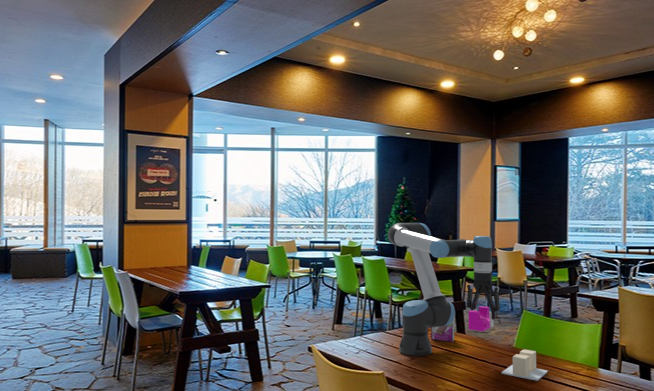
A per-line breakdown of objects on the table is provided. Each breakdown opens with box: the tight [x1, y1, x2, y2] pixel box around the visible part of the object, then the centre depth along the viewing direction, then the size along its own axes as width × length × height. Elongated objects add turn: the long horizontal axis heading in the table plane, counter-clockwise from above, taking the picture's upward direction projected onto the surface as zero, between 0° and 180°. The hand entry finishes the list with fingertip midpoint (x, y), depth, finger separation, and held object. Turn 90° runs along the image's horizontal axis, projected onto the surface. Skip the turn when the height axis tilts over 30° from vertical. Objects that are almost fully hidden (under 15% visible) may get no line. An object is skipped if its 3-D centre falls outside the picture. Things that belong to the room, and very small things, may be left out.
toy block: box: [468, 305, 492, 332], centre depth 212 cm, size 15×6×8 cm, turn 144°
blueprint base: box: [501, 349, 549, 381], centre depth 202 cm, size 14×14×8 cm
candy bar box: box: [430, 319, 455, 343], centre depth 256 cm, size 11×5×16 cm, turn 66°
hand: (483, 325), depth 213 cm, fingers closed on toy block, 6 cm apart
